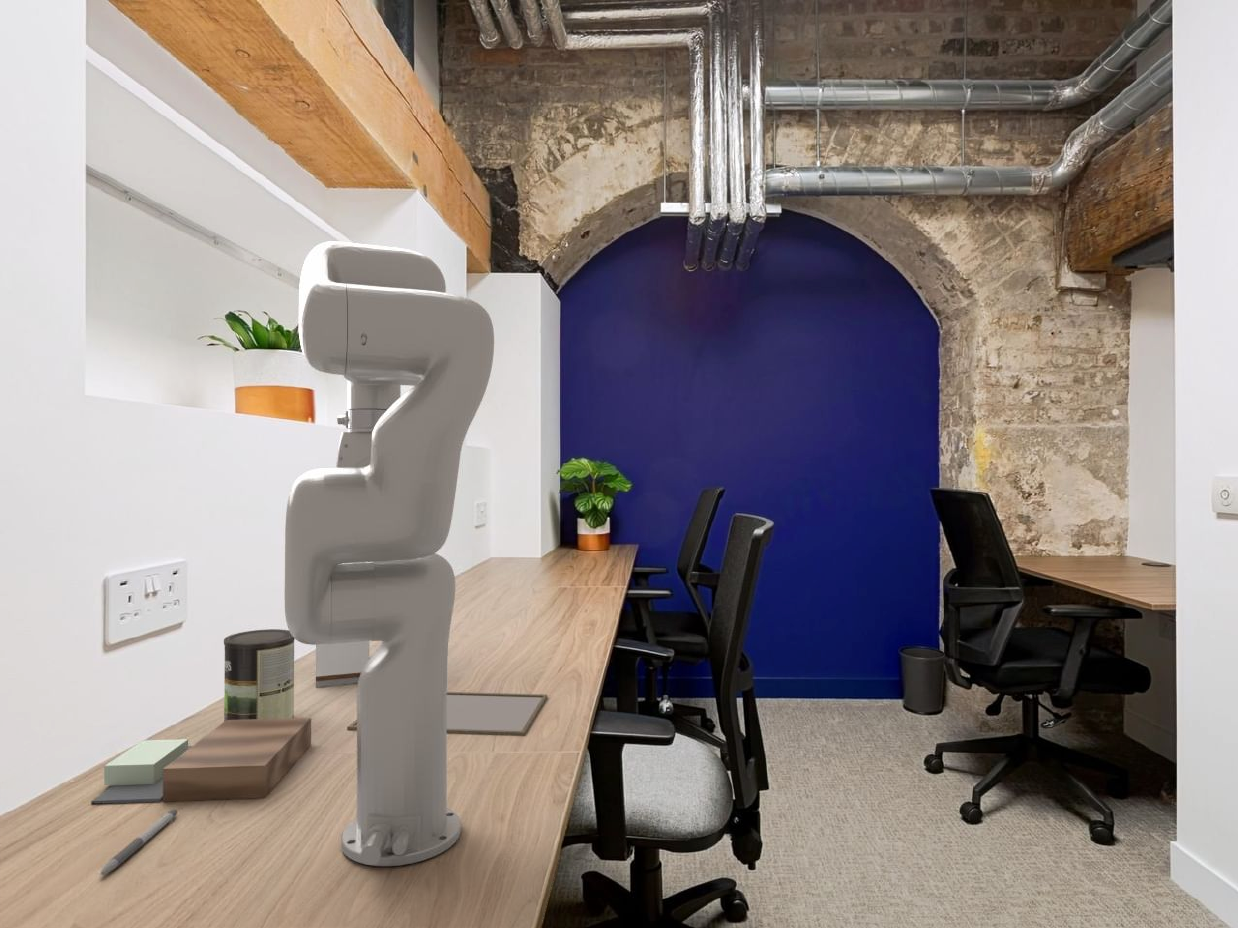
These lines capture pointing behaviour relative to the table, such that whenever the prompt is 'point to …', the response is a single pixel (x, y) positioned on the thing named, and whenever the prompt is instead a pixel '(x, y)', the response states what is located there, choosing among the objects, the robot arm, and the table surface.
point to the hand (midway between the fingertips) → (374, 546)
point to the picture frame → (489, 713)
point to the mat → (132, 793)
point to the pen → (138, 842)
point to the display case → (340, 662)
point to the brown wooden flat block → (237, 760)
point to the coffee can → (259, 675)
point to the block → (143, 762)
